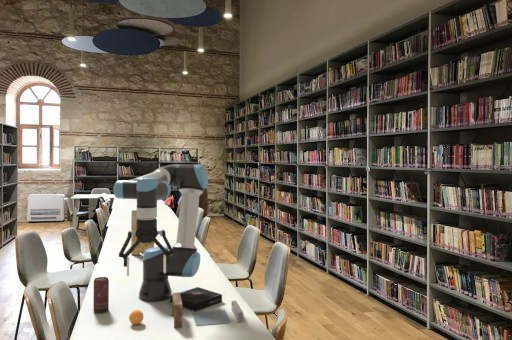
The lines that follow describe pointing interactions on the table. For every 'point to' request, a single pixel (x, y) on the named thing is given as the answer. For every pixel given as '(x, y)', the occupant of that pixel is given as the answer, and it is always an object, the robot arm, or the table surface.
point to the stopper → (237, 311)
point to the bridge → (177, 309)
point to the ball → (136, 317)
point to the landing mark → (211, 317)
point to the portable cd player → (199, 298)
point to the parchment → (141, 246)
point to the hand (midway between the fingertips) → (146, 273)
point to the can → (101, 294)
